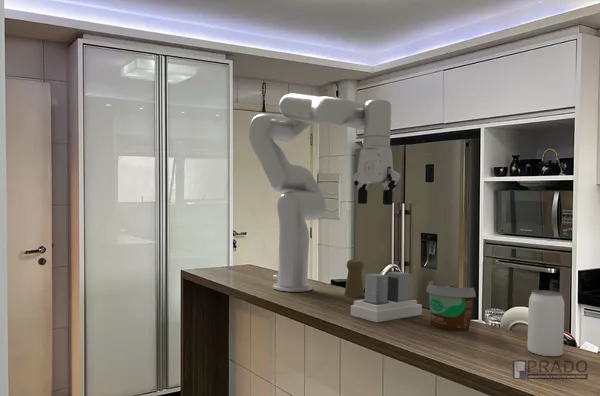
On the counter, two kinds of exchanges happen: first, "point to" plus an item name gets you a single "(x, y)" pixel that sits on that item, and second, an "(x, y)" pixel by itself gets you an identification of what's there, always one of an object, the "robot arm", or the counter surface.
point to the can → (546, 323)
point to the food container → (450, 307)
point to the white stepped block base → (390, 302)
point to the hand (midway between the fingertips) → (374, 204)
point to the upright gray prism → (376, 289)
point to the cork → (354, 279)
